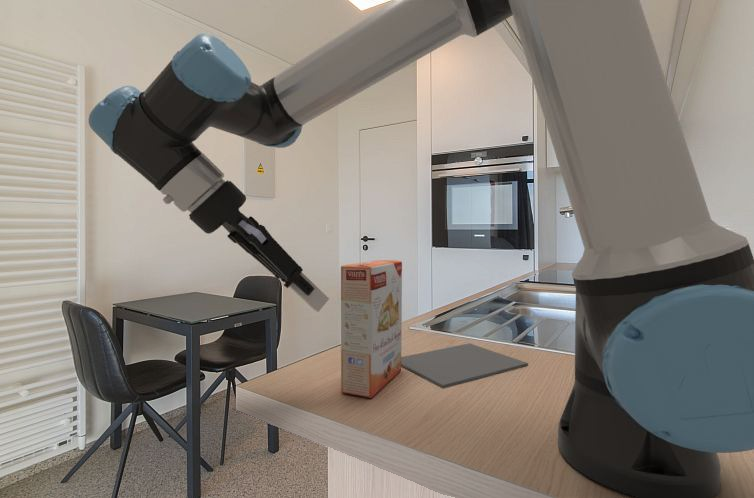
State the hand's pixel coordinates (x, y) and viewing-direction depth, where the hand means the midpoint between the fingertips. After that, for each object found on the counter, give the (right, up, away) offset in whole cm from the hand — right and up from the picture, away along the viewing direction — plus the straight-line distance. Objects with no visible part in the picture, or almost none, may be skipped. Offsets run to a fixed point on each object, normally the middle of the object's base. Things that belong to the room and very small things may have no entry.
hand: (322, 304), depth 63 cm
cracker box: (+8, -14, +5) cm, 18 cm away
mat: (+25, -14, +14) cm, 32 cm away
